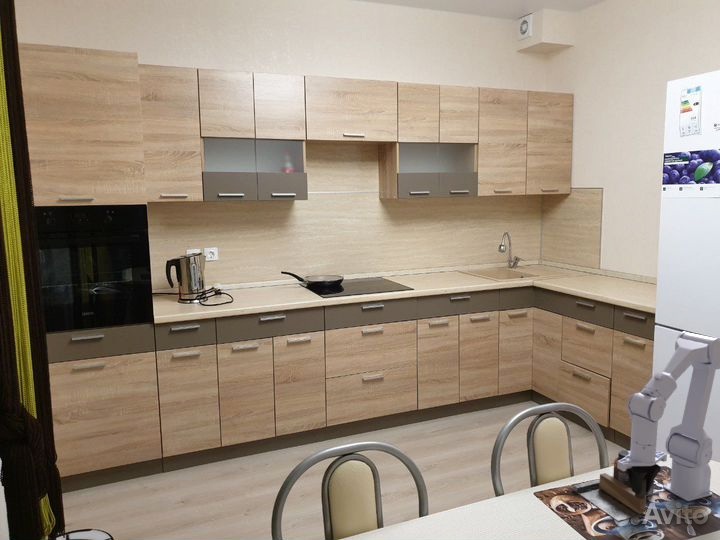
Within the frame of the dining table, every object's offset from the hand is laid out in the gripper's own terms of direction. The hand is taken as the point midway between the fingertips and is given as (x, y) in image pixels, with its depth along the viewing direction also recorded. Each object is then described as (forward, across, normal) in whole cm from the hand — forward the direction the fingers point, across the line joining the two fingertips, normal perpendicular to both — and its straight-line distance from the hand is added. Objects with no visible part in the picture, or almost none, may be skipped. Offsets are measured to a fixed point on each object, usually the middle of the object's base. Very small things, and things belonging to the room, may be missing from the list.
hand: (640, 491), depth 139 cm
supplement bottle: (+6, -4, -9) cm, 12 cm away
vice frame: (+6, -2, -7) cm, 9 cm away
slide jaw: (+5, 0, -6) cm, 8 cm away
